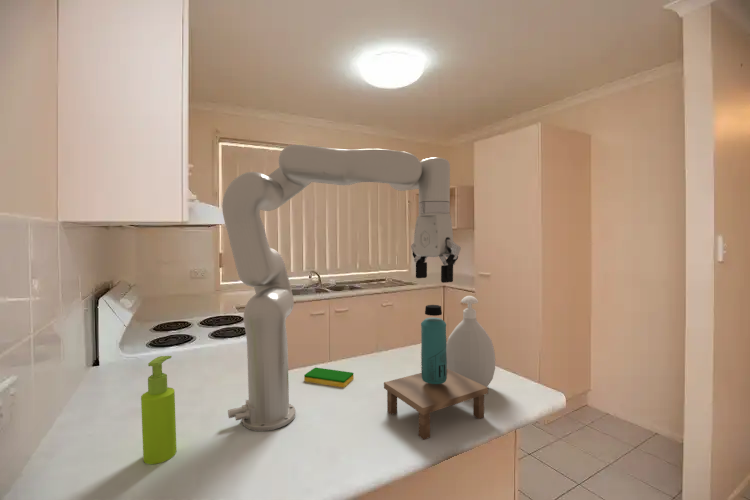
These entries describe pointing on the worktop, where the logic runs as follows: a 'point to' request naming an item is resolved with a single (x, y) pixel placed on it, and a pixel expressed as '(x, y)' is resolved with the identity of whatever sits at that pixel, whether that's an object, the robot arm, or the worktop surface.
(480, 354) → the soap bottle
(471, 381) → the footstool
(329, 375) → the dish sponge
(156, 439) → the soap dispenser
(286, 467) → the worktop surface
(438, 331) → the beverage bottle
